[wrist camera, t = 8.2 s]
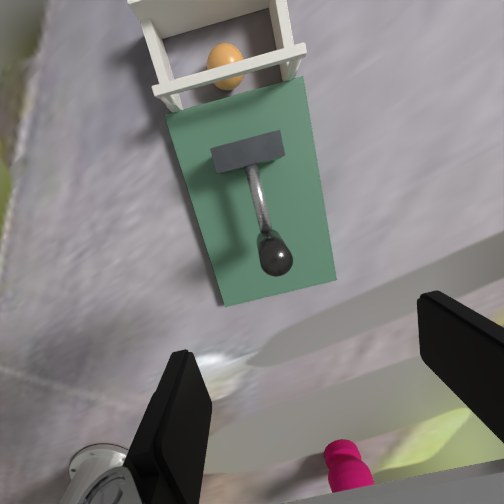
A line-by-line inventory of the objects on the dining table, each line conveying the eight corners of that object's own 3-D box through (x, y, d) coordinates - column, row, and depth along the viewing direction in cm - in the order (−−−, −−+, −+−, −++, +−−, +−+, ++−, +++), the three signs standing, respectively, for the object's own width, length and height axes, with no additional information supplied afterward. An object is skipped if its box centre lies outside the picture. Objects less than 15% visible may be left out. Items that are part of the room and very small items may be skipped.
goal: (291, 84, 28) (306, 54, 22) (176, 116, 29) (154, 97, 22) (275, -7, 26) (286, -74, 19) (150, 31, 27) (116, -21, 20)
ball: (243, 71, 29) (250, 92, 27) (211, 80, 29) (215, 102, 27) (237, 29, 25) (244, 51, 23) (199, 40, 25) (204, 63, 24)
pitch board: (333, 276, 35) (336, 280, 34) (226, 301, 36) (225, 307, 35) (300, 81, 28) (303, 75, 27) (168, 118, 29) (164, 114, 28)
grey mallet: (295, 237, 32) (319, 266, 21) (242, 250, 32) (240, 285, 21) (274, 137, 28) (291, 112, 18) (215, 153, 28) (198, 138, 18)
